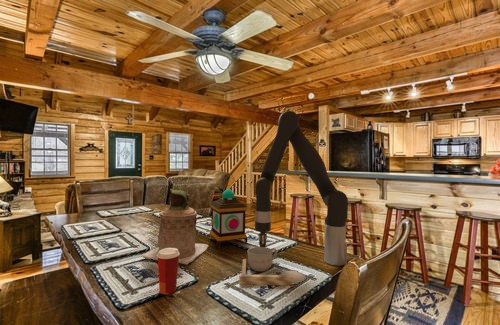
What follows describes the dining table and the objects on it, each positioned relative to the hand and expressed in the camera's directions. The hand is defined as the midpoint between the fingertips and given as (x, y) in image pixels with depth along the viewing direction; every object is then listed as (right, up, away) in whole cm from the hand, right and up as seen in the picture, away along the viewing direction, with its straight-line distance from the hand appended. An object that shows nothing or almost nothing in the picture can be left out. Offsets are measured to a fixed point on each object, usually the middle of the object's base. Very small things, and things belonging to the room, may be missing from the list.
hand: (262, 256), depth 119 cm
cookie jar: (-42, -1, +7) cm, 42 cm away
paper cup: (-35, -1, -29) cm, 46 cm away
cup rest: (0, -1, -16) cm, 16 cm away
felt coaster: (+11, -1, -18) cm, 21 cm away
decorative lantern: (-18, -1, +27) cm, 32 cm away
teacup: (0, -1, -10) cm, 10 cm away
